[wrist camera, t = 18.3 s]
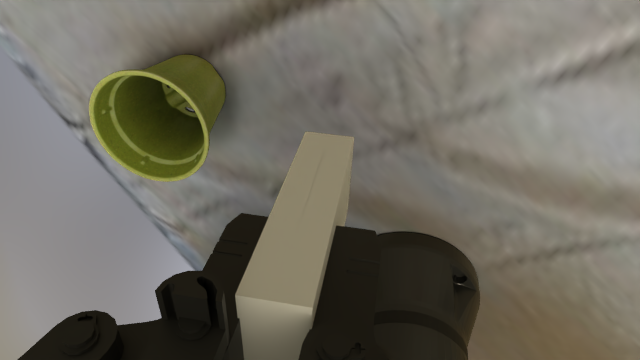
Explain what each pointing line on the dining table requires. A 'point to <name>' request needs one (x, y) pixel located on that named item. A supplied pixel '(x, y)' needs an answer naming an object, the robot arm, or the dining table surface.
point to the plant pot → (158, 116)
